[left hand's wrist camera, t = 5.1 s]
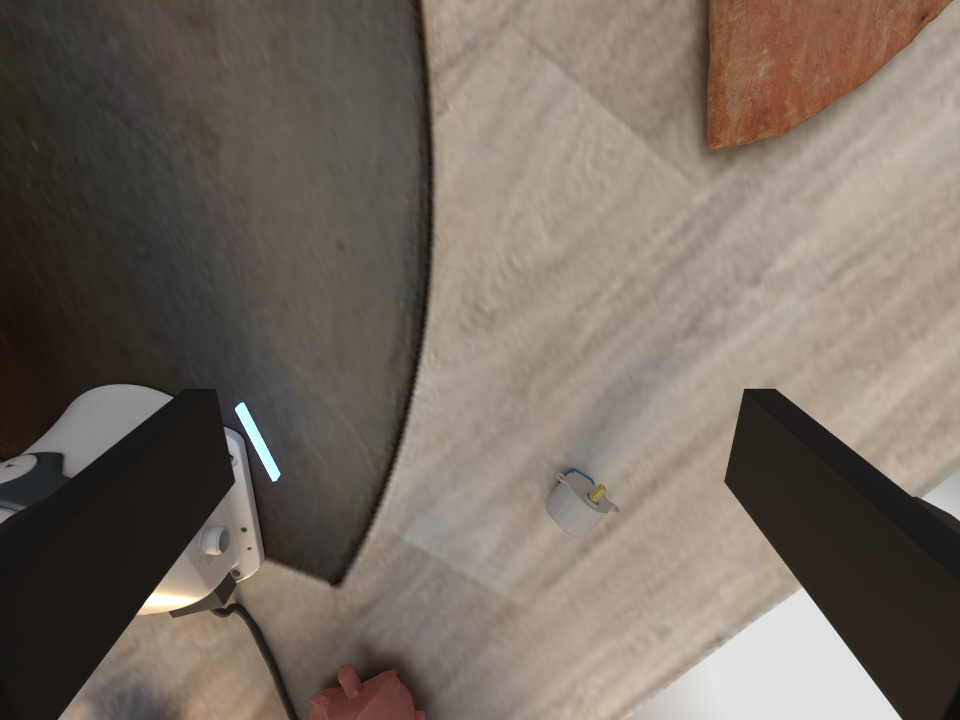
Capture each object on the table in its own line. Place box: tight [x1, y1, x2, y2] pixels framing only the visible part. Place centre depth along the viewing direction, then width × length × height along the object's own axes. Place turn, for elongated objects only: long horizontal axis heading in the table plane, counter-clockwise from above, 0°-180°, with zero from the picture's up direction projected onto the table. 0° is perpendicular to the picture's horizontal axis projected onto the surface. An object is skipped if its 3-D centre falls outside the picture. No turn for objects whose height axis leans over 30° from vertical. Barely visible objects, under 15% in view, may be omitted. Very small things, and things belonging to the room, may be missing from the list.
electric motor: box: [545, 468, 619, 538], centre depth 44 cm, size 7×5×5 cm
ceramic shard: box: [706, 0, 953, 149], centre depth 31 cm, size 15×6×15 cm
